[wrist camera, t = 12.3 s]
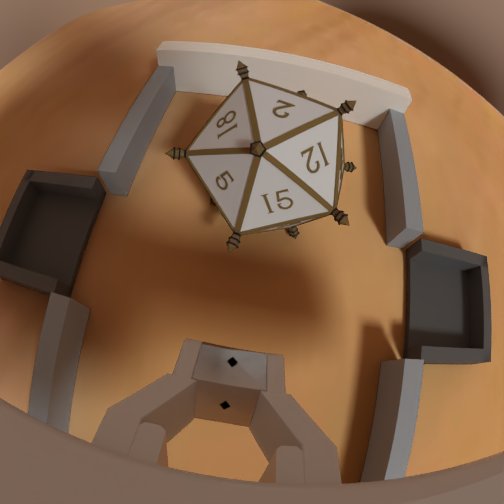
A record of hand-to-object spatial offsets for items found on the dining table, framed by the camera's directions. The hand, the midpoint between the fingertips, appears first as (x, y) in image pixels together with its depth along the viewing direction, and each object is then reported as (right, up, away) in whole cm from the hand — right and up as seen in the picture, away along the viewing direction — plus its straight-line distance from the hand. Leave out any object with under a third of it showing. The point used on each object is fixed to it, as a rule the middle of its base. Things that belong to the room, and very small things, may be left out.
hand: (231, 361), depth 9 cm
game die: (+1, +6, +9) cm, 11 cm away
